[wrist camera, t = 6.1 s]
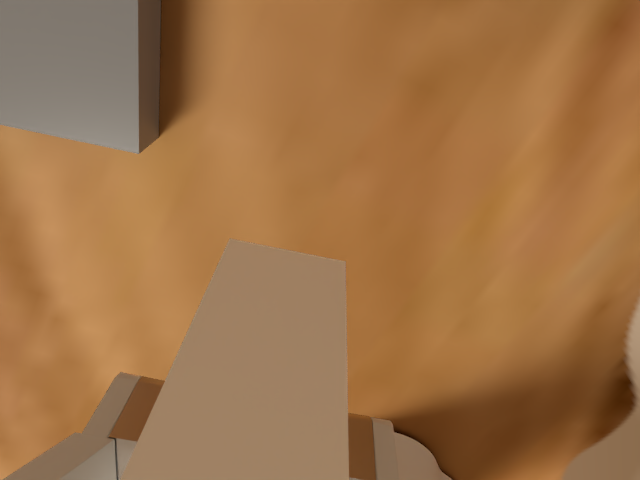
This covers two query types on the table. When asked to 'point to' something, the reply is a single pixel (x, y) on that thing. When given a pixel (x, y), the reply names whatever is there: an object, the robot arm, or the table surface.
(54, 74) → the socket plate
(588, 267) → the table surface
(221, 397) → the plug
